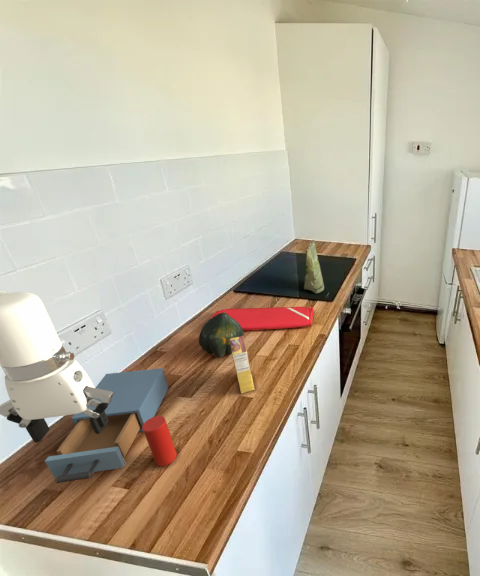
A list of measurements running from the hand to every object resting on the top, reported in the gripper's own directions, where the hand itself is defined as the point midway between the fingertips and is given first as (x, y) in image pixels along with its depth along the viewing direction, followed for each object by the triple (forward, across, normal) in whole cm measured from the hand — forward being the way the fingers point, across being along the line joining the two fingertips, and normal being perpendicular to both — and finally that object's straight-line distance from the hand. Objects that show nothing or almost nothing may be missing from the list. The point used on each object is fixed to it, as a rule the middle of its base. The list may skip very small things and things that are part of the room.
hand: (73, 432), depth 63 cm
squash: (+19, -16, -50) cm, 56 cm away
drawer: (+18, +5, -11) cm, 22 cm away
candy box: (+19, -26, -30) cm, 44 cm away
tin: (+19, -10, -6) cm, 23 cm away
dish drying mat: (+19, -28, -68) cm, 76 cm away
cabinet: (+19, +5, -25) cm, 32 cm away
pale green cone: (+19, -51, -96) cm, 110 cm away
